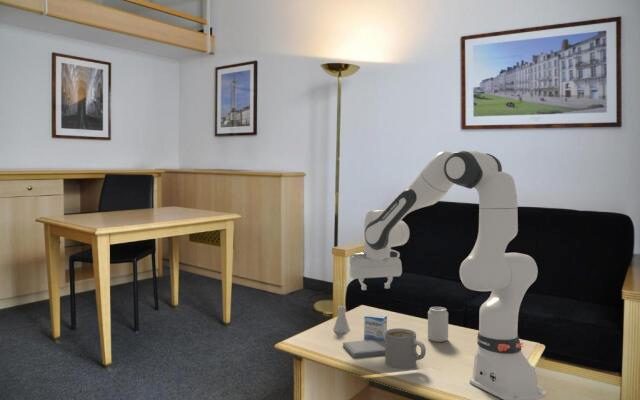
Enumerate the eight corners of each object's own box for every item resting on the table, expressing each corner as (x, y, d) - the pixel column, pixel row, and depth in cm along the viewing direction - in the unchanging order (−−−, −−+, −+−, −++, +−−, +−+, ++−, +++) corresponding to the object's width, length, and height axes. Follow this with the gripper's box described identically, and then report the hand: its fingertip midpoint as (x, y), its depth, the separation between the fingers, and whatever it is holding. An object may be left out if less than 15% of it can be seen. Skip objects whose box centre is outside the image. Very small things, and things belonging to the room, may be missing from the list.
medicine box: (363, 338, 191) (363, 316, 191) (367, 335, 195) (367, 313, 195) (383, 341, 188) (384, 318, 188) (387, 337, 192) (387, 315, 192)
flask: (349, 335, 195) (349, 310, 195) (331, 334, 197) (331, 309, 196) (351, 330, 202) (351, 305, 202) (333, 329, 204) (333, 304, 203)
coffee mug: (379, 362, 166) (379, 332, 165) (397, 355, 173) (397, 326, 172) (413, 373, 156) (413, 341, 156) (430, 365, 163) (431, 334, 163)
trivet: (387, 354, 174) (387, 350, 173) (354, 357, 170) (354, 353, 170) (374, 343, 185) (374, 339, 185) (343, 346, 182) (343, 342, 182)
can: (446, 336, 193) (446, 306, 193) (449, 343, 186) (449, 310, 185) (426, 336, 194) (426, 305, 194) (428, 342, 187) (429, 310, 186)
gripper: (352, 254, 185) (352, 292, 185) (403, 252, 190) (403, 289, 191) (347, 252, 191) (347, 288, 191) (396, 250, 196) (396, 285, 197)
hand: (375, 288), depth 191 cm, fingers open, 8 cm apart
